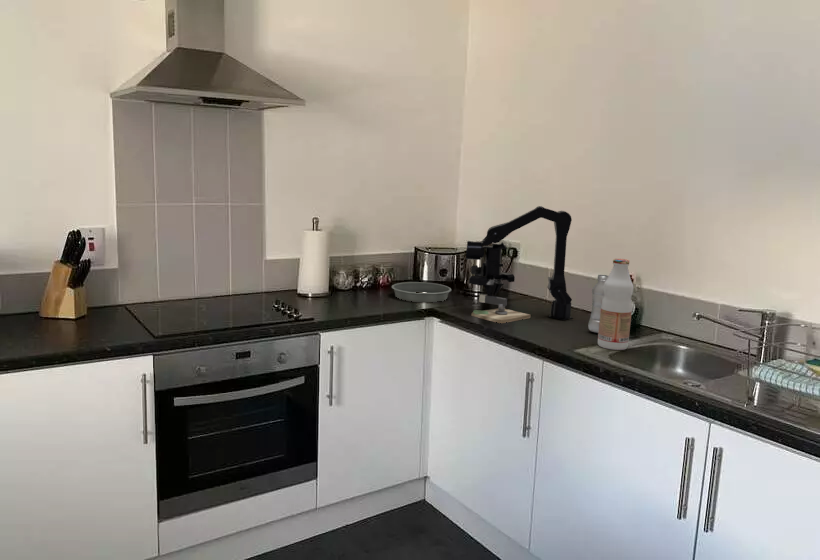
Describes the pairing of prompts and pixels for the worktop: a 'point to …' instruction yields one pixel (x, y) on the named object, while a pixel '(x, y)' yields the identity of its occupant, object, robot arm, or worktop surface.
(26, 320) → the worktop surface
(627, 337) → the fruit juice
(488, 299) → the peg
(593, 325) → the plastic bottle
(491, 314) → the beige flat board
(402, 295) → the cake pan
